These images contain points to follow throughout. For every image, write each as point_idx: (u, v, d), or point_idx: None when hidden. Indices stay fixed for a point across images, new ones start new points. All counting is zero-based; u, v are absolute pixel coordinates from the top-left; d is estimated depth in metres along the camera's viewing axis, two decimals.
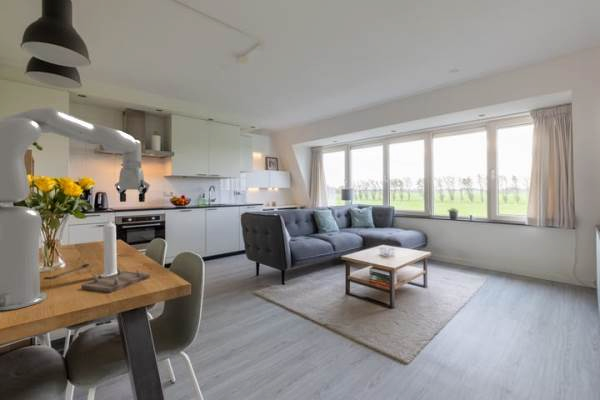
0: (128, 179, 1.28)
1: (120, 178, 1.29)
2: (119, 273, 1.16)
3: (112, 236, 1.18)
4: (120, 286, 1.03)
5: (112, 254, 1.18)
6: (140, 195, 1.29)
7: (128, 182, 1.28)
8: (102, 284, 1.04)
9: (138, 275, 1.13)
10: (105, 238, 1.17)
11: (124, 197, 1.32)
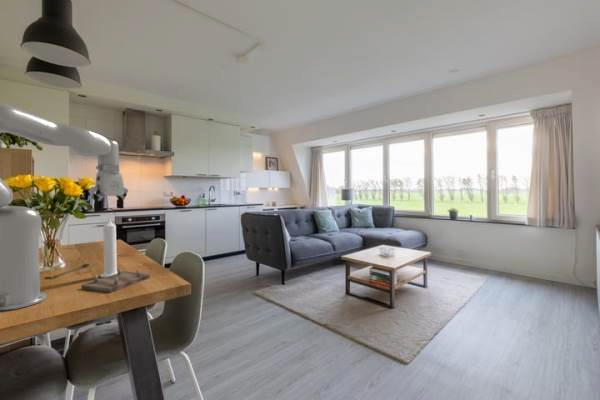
0: (115, 184, 1.18)
1: (105, 183, 1.14)
2: (119, 273, 1.16)
3: (112, 236, 1.18)
4: (120, 286, 1.03)
5: (112, 254, 1.18)
6: None
7: (115, 188, 1.18)
8: (102, 284, 1.04)
9: (138, 275, 1.13)
10: (105, 238, 1.17)
11: None
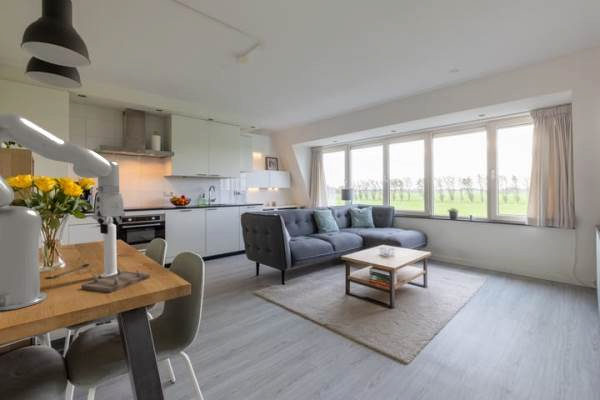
0: (114, 205, 1.18)
1: (105, 205, 1.14)
2: (119, 273, 1.16)
3: (112, 236, 1.18)
4: (120, 286, 1.03)
5: (112, 254, 1.18)
6: None
7: (114, 208, 1.18)
8: (102, 284, 1.04)
9: (138, 275, 1.13)
10: (105, 238, 1.17)
11: None
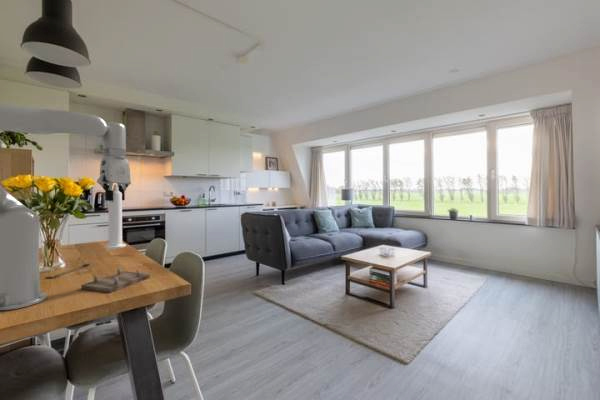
0: (121, 171, 1.09)
1: (111, 169, 1.05)
2: (119, 273, 1.16)
3: (118, 204, 1.09)
4: (120, 286, 1.03)
5: (117, 224, 1.09)
6: None
7: (121, 174, 1.09)
8: (102, 284, 1.04)
9: (138, 275, 1.13)
10: (110, 206, 1.08)
11: None
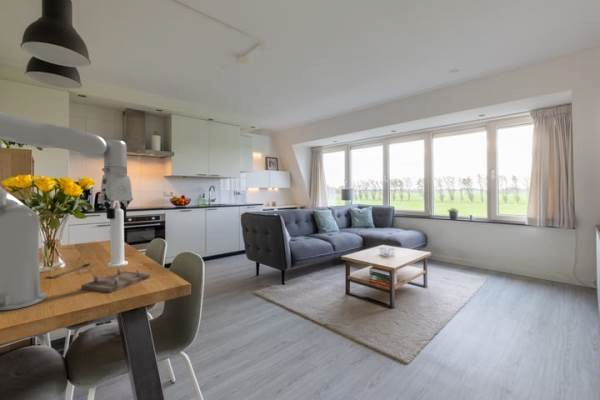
0: (122, 188, 1.08)
1: (112, 187, 1.04)
2: (119, 273, 1.16)
3: (120, 222, 1.08)
4: (120, 286, 1.03)
5: (119, 242, 1.08)
6: None
7: (122, 192, 1.08)
8: (102, 284, 1.04)
9: (138, 275, 1.13)
10: (112, 224, 1.07)
11: None
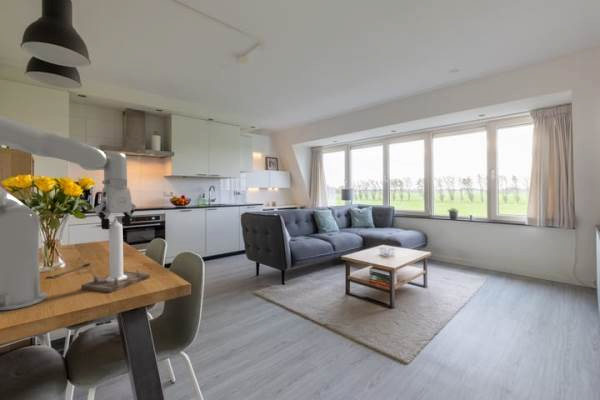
0: (122, 200, 1.08)
1: (112, 200, 1.04)
2: None
3: (119, 237, 1.08)
4: (120, 286, 1.03)
5: (118, 257, 1.08)
6: None
7: (122, 204, 1.08)
8: (102, 284, 1.04)
9: (138, 275, 1.13)
10: (111, 239, 1.07)
11: None
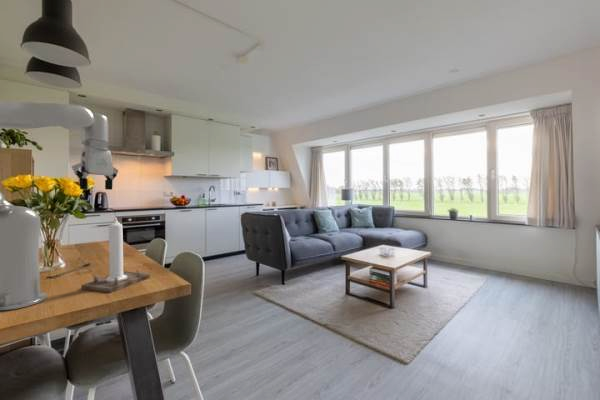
0: (102, 162, 1.08)
1: (91, 160, 1.05)
2: None
3: (119, 237, 1.08)
4: (120, 286, 1.03)
5: (118, 257, 1.08)
6: None
7: (102, 166, 1.08)
8: (102, 284, 1.04)
9: (138, 275, 1.13)
10: (111, 239, 1.07)
11: None
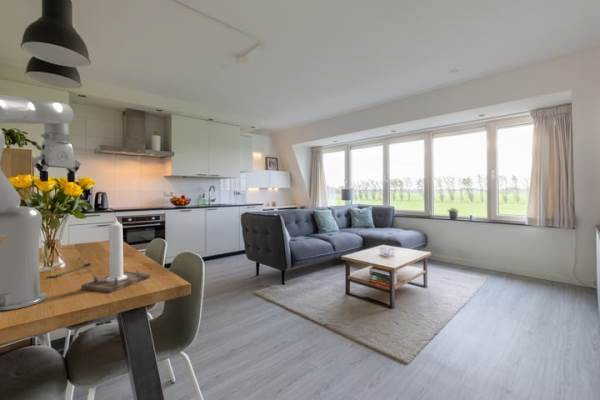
0: (63, 155, 1.10)
1: (51, 153, 1.06)
2: None
3: (119, 237, 1.08)
4: (120, 286, 1.03)
5: (118, 257, 1.08)
6: None
7: (63, 159, 1.10)
8: (102, 284, 1.04)
9: (138, 275, 1.13)
10: (111, 239, 1.07)
11: None
